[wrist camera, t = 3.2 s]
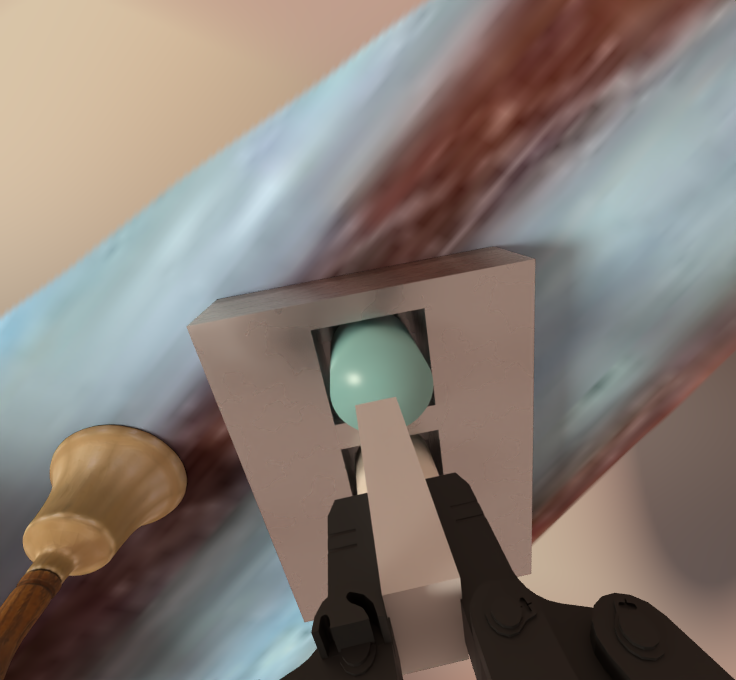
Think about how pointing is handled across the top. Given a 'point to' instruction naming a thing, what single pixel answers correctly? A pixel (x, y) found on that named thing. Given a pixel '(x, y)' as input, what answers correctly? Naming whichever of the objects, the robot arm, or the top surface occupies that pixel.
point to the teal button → (378, 368)
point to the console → (341, 441)
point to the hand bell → (89, 516)
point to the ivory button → (422, 455)
